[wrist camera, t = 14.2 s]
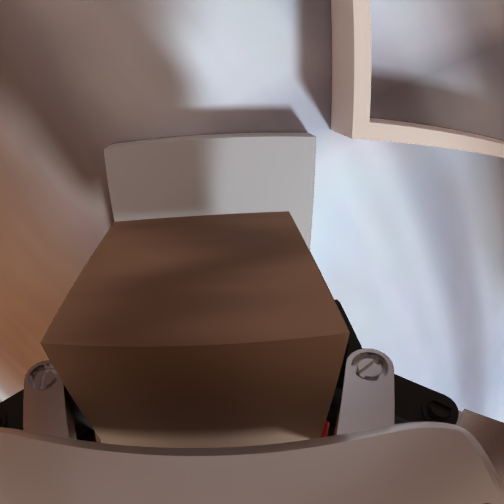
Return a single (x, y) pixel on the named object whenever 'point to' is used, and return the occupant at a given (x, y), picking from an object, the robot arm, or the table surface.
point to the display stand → (214, 176)
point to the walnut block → (200, 334)
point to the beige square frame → (359, 91)
